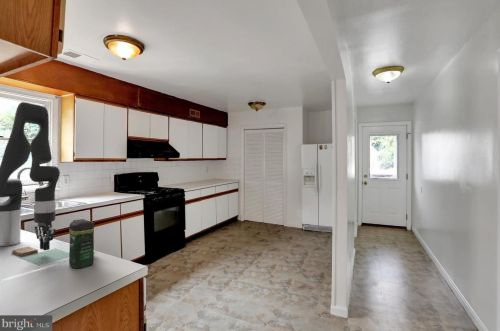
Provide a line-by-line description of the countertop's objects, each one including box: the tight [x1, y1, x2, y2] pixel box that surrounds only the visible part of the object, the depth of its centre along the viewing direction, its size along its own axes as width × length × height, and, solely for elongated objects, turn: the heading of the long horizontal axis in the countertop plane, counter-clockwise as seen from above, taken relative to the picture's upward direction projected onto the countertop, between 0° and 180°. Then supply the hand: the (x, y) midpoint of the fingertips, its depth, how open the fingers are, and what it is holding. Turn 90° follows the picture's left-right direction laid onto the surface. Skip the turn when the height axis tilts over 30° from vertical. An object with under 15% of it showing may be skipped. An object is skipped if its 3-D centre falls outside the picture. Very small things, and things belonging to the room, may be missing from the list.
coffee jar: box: [68, 218, 95, 269], centre depth 109 cm, size 10×8×19 cm
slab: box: [11, 246, 39, 258], centre depth 120 cm, size 2×6×9 cm
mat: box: [19, 248, 69, 266], centre depth 116 cm, size 17×14×1 cm
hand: (44, 249), depth 117 cm, fingers closed
